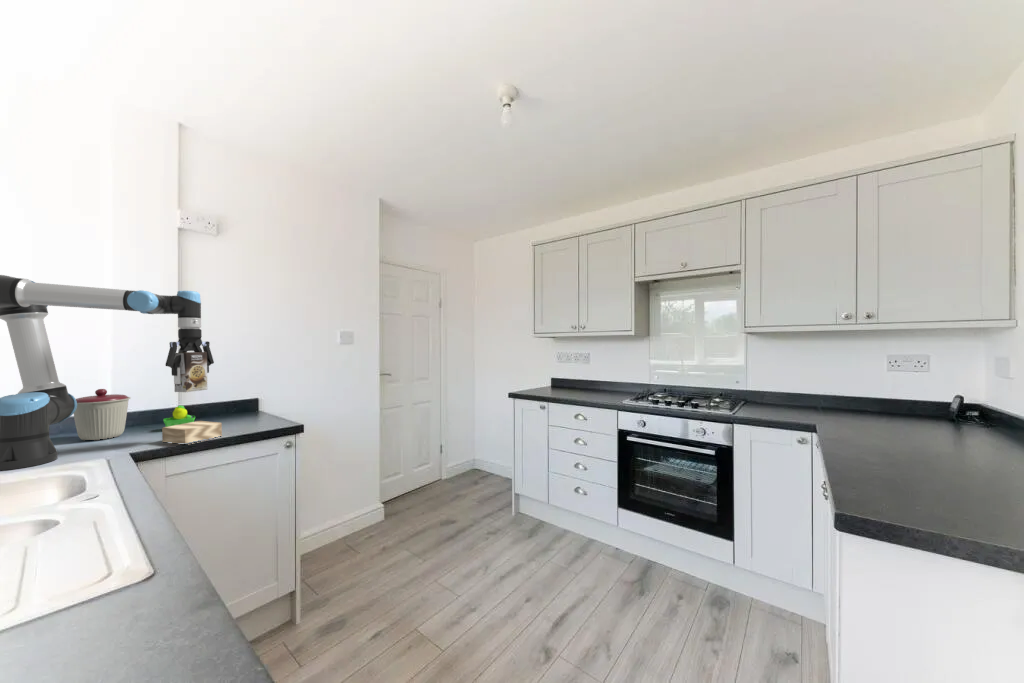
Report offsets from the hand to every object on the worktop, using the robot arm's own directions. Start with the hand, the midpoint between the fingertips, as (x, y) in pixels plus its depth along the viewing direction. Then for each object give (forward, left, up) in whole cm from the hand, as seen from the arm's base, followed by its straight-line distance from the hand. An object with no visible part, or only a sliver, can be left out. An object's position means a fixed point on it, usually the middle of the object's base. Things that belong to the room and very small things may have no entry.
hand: (191, 382), depth 164 cm
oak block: (0, 0, -24) cm, 24 cm away
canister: (-10, +42, -24) cm, 49 cm away
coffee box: (0, 0, -4) cm, 4 cm away
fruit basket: (+12, +29, -24) cm, 40 cm away
